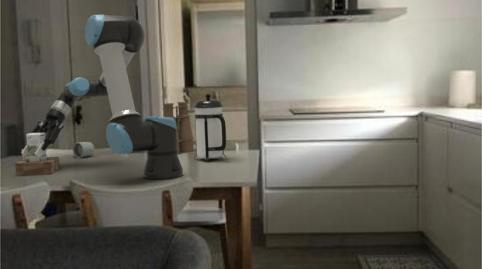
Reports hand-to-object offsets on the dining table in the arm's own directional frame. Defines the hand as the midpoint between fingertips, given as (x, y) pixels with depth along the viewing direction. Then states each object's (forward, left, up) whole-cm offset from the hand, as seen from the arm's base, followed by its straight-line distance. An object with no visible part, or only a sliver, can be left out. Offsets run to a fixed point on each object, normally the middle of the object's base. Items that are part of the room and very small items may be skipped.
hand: (30, 155), depth 224 cm
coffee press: (+13, -76, -8) cm, 77 cm away
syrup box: (+3, -2, -6) cm, 7 cm away
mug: (+30, +7, -8) cm, 32 cm away
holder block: (+3, -2, -8) cm, 8 cm away
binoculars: (+42, -60, -8) cm, 73 cm away
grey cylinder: (+41, -13, -8) cm, 44 cm away
